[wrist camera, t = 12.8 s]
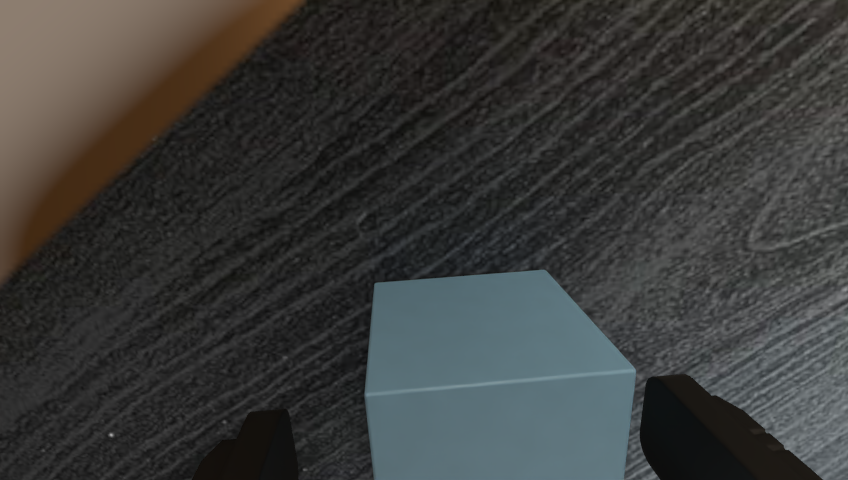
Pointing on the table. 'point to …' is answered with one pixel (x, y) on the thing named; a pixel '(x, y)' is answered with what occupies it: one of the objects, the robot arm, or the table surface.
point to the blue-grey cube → (493, 383)
